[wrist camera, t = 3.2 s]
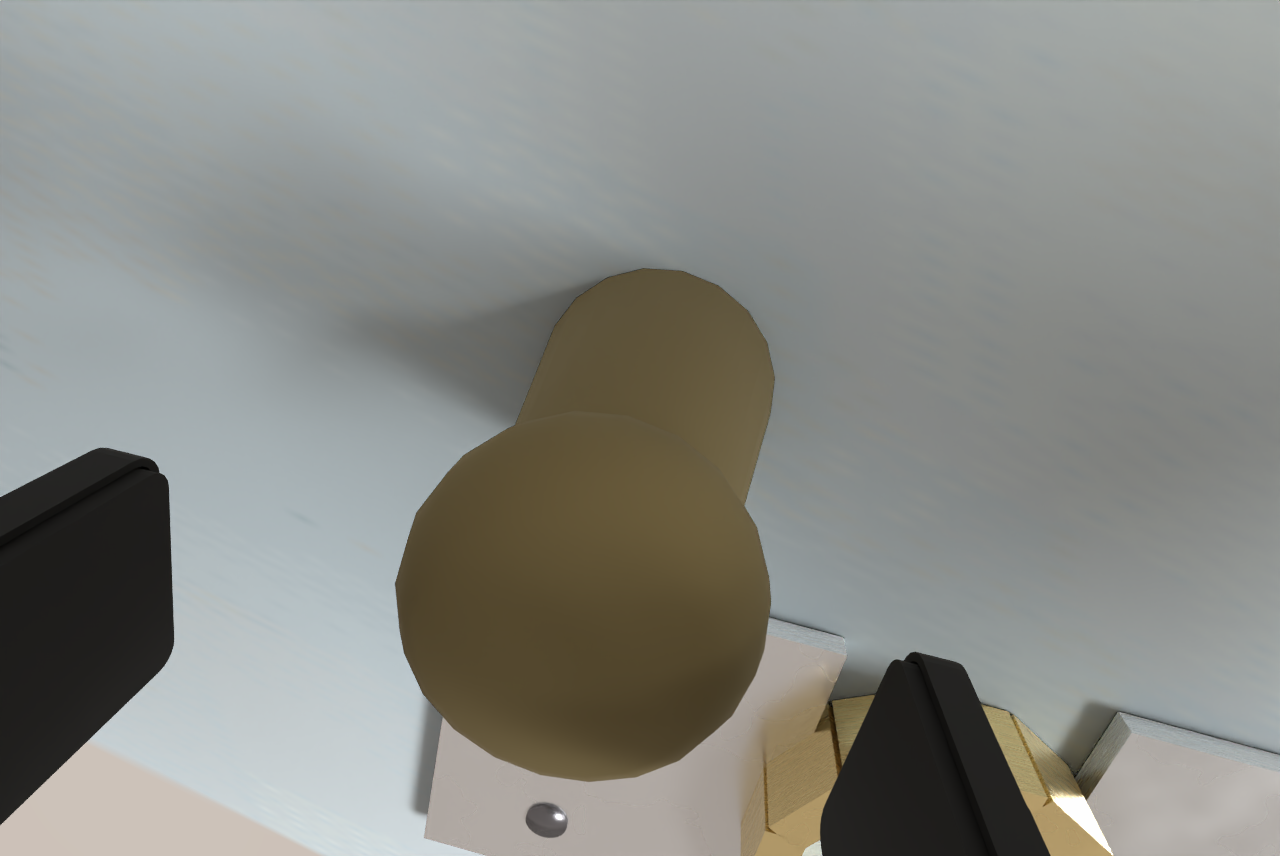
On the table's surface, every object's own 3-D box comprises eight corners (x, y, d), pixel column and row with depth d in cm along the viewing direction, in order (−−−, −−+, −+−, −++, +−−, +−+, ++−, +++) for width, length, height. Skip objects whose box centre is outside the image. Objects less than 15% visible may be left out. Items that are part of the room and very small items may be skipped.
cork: (505, 418, 20) (257, 717, 10) (611, 220, 18) (430, 344, 7) (695, 527, 20) (648, 919, 10) (822, 349, 18) (924, 628, 8)
